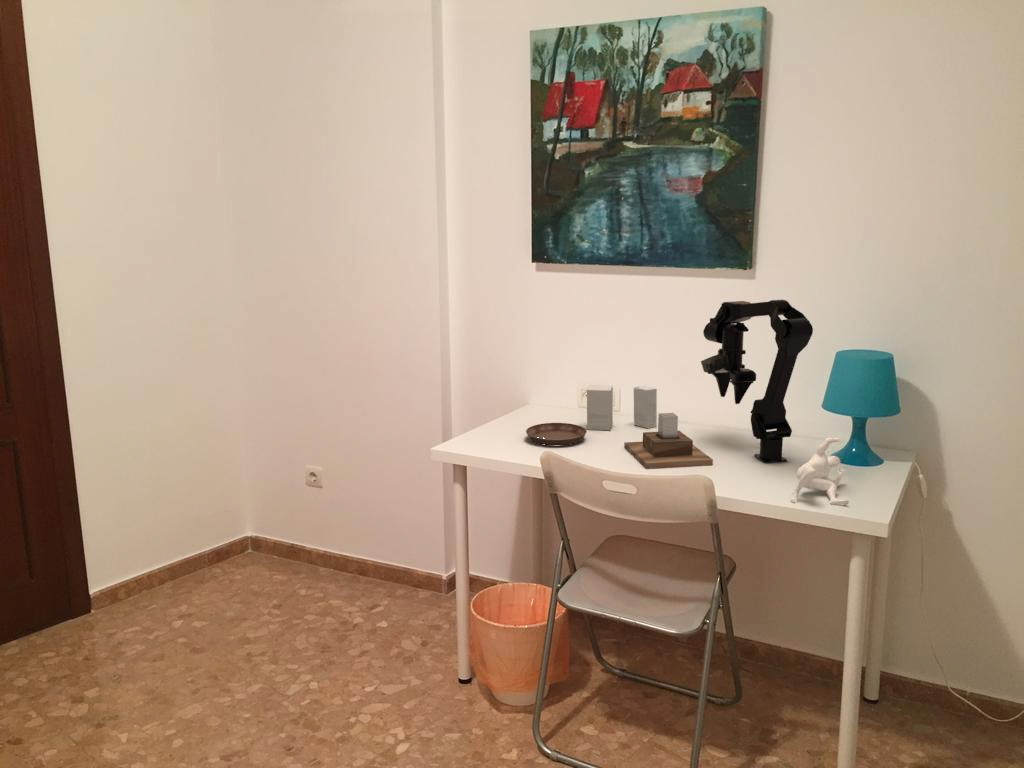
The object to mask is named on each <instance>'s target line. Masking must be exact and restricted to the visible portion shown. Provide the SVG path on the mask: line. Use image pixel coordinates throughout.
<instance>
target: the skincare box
mask: <svg viewBox="0 0 1024 768" xmlns="http://www.w3.org/2000/svg"><path fill="white" fill-rule="evenodd" d="M657 390H658V389H657V388H655V387H650V386H646V385H645V386H644V385H640V386H635V387H633V424H634V426H636V425H637V426H636V427H642V428H646V429H653V428H656V427H657V426H658V425H657V424H658V422H657V418H658V414H657V410H658V409H657V406H658V405H657V398H658V397H657Z"/></svg>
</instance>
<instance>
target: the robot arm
mask: <svg viewBox="0 0 1024 768" xmlns="http://www.w3.org/2000/svg"><path fill="white" fill-rule="evenodd" d="M764 316H769V318H770V327H771V328H772V330H773V331H774V333H775V335H774V336H775V337H774V340H775V343H776V345H777V353H776V355H775V359H774V363H773V366H772V368H771V372H770V376H769V380H768V383H767V386H766V390H765V393H764V396H763V397H762V398H760V399H755V400H754V401H753V403H752V405H753V406H752V409H751V411H750V414H751V415H750V423H751V430H752V436H753V438H754V437H755V439H757V440H760V441H759V453H755V454H754V457H755V458H756V459H758V460H759V461H761V462H762V463H764V464H765V463H767V464H768V463H784V462H788V459H787V458H785V457H784V456H783V445H784V443H783V442H784V438H790V437H791V435H792V433H793V430H792V427H791V426H790V424H789V422H788V420H787V418H786V416H787V415H786V414H787V410H786V407H785V403H784V400H785V398H786V394H787V391H788V388H789V384H790V381H791V378H792V375H793V371H794V368H795V366H796V362H797V359H798V355H800V353H801V352H802V351H803V350H804V349H805V348H806V347H807V345H809V342H810V340H811V337H812V336H813V333H814V328H813V325H812V323H811V322H810V320H809V319H808V318H807V317H806V316H805V314H803V312H801V311H800V310H798V309H796V308H795V307H793V306H792V305H791V303H790V302H789V301H788V300H787V299H771V300H769V301H762V302H760V301H759V302H753V303H752V302H750V301H747V300H746V301H745V300H739V301H738V300H737V301H723V302H722V303H721V305H720V307H719V309H718V311H717V313H716V314H715V317H711V318H710V317H709V322H708V323H706V325H705V327H704V329H703V330H702V331H703V337H704V338H705V340H706V341H709V342H713V343H718V344H721V348H719V349H718V350H717V354H716V355H712V356H709V357H707V358H704V359H703V360H701V361H700V363H701V366H702V370H703V373H707V374H708V375H711V376H713V377H714V379H715V380H716V383H717V387H718V391H719V395H720V398H721V397H722V398H725V397H726V394H727V392H728V389H729V385H730V383H731V384H732V385H733V393H734V403H735V405H739V404H740V403H741V401H742V400H743V398H744V396H745V394H746V393H747V392H748V389H749V388H750V387H751V385H752V384H754V382H756V381H757V373H756V372H755V371H754V370H752V369H750V368H746V364H743V355H746V353H747V351H746V350H745V349H744V332H749V328H748V327H747V326H746V324H745V323H744V322H746V321H748V320H751V319H752V318H755V317H764ZM780 316H783V317H784V318H785V319H782V318H781V317H780Z"/></svg>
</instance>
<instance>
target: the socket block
mask: <svg viewBox="0 0 1024 768" xmlns="http://www.w3.org/2000/svg"><path fill="white" fill-rule="evenodd" d="M693 441H694V440H693V439H692V438H690V437H688V436H687V435H686V434H684V433H683V432H682V431H681V430H677V439H662V440H661V439H660V438H659V437H658V431H646V432H645V431H643V432H642V441H629V442H626V441H624V443H623V444H624V445H623V447H624V449H625V450H626V451H627V452H628V453H629V452H630V453H631V454H630V455H631V456H632V455H633V456H634V457H633V456H632V457H633V458H635V460H636V461H637V462H639V464H641V465H642V466H643V467H644V468H645V469H646V470H649V468H652V469H666V467H670V468H681V467H683V468H685V467H702V466H703V465H704V466H713V465H714V459H713V458H711V456H709V455H708V454H706V453H705V452H704V451H702V450H701V449H700V448H698V447H697V446H696V445H694V444H693V443H694V442H693Z"/></svg>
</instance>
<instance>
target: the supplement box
mask: <svg viewBox="0 0 1024 768" xmlns="http://www.w3.org/2000/svg"><path fill="white" fill-rule="evenodd" d="M613 403H614V388H613V385H598V384H590V385H589V387H588V388H587V389H586V428H587V429H586V430H587V431H588V430H589V431H592V430H593V431H597V430H598V431H611V429H612V427H613V424H614V421H613V419H614V418H613V417H614V416H613V414H614V413H613V411H614V408H613V406H614V405H613Z"/></svg>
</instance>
